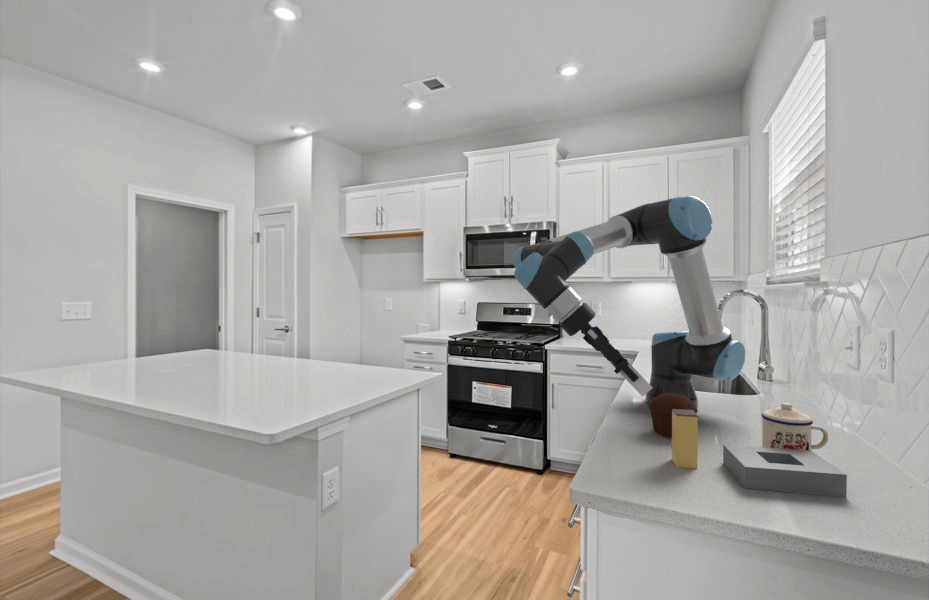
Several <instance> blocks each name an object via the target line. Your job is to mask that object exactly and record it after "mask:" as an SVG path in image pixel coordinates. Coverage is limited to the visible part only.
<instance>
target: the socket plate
mask: <svg viewBox="0 0 929 600" xmlns="http://www.w3.org/2000/svg"><path fill="white" fill-rule="evenodd" d="M722 446H723V449H722V451H723V452H722V455H723V456H722V464H723V465H724V466H725V467H726V469H728V471H729V472H730V473H731V474H732V476H734V478H736V480H737V481H738V482H739V484H740V485H741V486H742V487H743V488H744V489H748V490H749V489H750V490H762V491H771V492H773V491H774V492H783V493H795V494H805V495H806V494H807V495H817V496H826V497H827V496H830V497H839V498H840V497H841V498H847V492H848V491H847V484H848V483H847V479H848V477H847V476H848V474H847V473H845V472H843V471H842V470H841V469H840V468H838V467H836V466H835V465H833V464H831V462H829V461H827V460H826V459H824V458H823V457H821V456H820V455H818V454H817V453H815V452H814V451H812V450H811V451H810V450H795V449H780V448H766V447H762V446H749V445H733V444H723V445H722Z"/></svg>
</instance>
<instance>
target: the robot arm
mask: <svg viewBox="0 0 929 600" xmlns="http://www.w3.org/2000/svg"><path fill="white" fill-rule="evenodd" d="M712 225H713V217H712V213H711V211H710V209H709V206H708V204H706V202H704V201H703V200H702V199H700V198H699V197H696V196H695V195H694V196H693V195H690V196H688V195H687V196H677V197H673V198H669V199H664V200H660V201H655V202H652V203H645V204H642V205H639V206H637V207H634V208H630V209H629V210H626V211H624V212H621V213H619V214H616V215H613V216H611V217H610V218H608V220H607V221H606V222H602V223H600V224H595V225H593V226H589V227H586V228H583V229H580V230H576V231H572V232H569V233H566V234H563V235H560V236H556V237H554V238H550V239H547V240H544V241H541V242H538V243H534V244H526V245H524V246H520V247H518V248H516V250H515V252H514V253H513V256H512V263H513V266H514V269H515V270H514V271H513V275H514V278H515V279H516V280H517V282H518V283H519V284H520V286H522V287H523V289H524V290H525V291H526V292H528V294H530V295H531V297H532V298H533V299H534V300H535V301H536V302H537V303H538V304H539V305H540V306H541V307H542V308H543V309H544V310H545V311H546V312H547V313H546V317H547V318H551V316H552V319H553V320H554V321H555V322H556V323H559V322H560V323H559V324H560V328H561V329H562V330H563V331H564V332H565V333H566V334H567V335H568V336H570V337H573V336H575V335H576V334H578V332H580V333H581V334H583V337H582V339H583V340H584V341H586V343H587V344H588V345H590V346H591V347H592V348H593V349H594V350H595V351H596V352H600V353H601V354H602V356H603V357H604V358H605V359H606V360H607V361H608V362H609V363H610V365H611V366H612V367H614V369H613V372H614V373H615V374H616V375H617V374H620V375H621V377H623V379H625V380H626V381H627V382H628V383H629V384H630V385H631V386H632V388H633V389H634V390H636V392H638V394H639V395H640V396H641V397H644V396H645V403H646V404H648V403H650V402H651V401H652V399H653V398H655V397H656V396H658V395H660V394H663V393H678V394H682V395H684V396H686V397H688V398H689V399H690V400H692V402H693V403H694V405H695V406H696V408H697V409H698V406H699V400H698V399H699V398H698V396H697V392H696V390H695V387H694V383H693V379H692V377H693V376H696V377H697V376H698V377H703V378H709V379H714V380H716V381H718V380H721V381H732V380H734V379H736V378H737V377H738V375H740V373H741V372H742V370H743V367H744V365H745V361H746V348H745V345H744V344H743V343H742V342H741V341H740V340H736V339H733V337H732V334H731V331H730V329H729V328H728V327H726V326H724V325H723V323H722V318H721V316H720V312H719V307H718V304H717V300H716V297H715V292H714V288H713V285H712V282H711V277H710V276H711V275H710V273H709V270H708V266H707V261H706V258H705V253H704V249H703V248H704V246H705V245H706V243H707V241H708V240H707V237H709V235H710V234H711V231H712V228H713V227H712ZM642 245H643V246H645V245H647V246H648V245H658V246H659V250H660V254H662V255H664V256H666V257H667V258H668V260H669V264H670V266H671V271H672V274H673V278H674V281H675V286H676V289H677V291H678V295H679V299H680V303H681V307H682V310H683V313H684V319H685V321H686V325H687V328H688V330H685V331H684V330H682V331H666V332H665V331H664V332H655V333H654V334H653V335H652V336H651V345H650V348H651V379H650V381H647V380H646V379H645V377H643V376H642V374H641V373H640V372H639V371H638V370H637V369H636V368H635V367H634V366H632V364H631V363H630V362H629V361H628V359H627V358H625V357H624V356H623V355H622V354H621V352H620V351H619V350H618V349H617V348H615V347H614V345H612V344H611V343H610V340H609V338H608V337H607V336H606V335H605V334H604V332H603V331H602V329H601V328H599V327H598V326H597V325H595V326H592V325H591V324H590V322H591V321H592V320H593V319H594V318H595V316H596V312H595V310H593V308H591V307H590V306H589V304H588V303H587V302H583V298H582V297H581V296H580V295H579V294H578V293H577V291H575V290H574V289H573V288H572V286H570V285H569V284H568V283H567V280H568V279H570V277H571V276H573V274H575V273H576V272H577V271H578V270H579V269H580V268H582V267H583V266H585V265H586V264H587V262H588V261H589V260H590V259H592V257H593V255H596V254H598V253H599V254H600V253H601V252H604V251H607V250H610V249H614V248H617V249H624V248H627V247H633V246H642Z"/></svg>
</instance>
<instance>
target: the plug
mask: <svg viewBox="0 0 929 600" xmlns="http://www.w3.org/2000/svg"><path fill="white" fill-rule="evenodd" d="M698 417H699V416H698V413H695V412H694V411H693V410H683V409H672V438H671V461H672V463H673V464H674V466H675V468H687V469H688V468H689V469H698V433H699V432H698V431H699V430H698V428H699V427H698V425H699V424H698V422H699V419H698Z"/></svg>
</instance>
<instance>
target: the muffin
mask: <svg viewBox="0 0 929 600" xmlns="http://www.w3.org/2000/svg"><path fill="white" fill-rule="evenodd" d="M647 404H648V403H647ZM647 407H648V409H649V410H650V416H651V423H652V429H654V430H653V432H654V434H655V433H656V434H655V435H658V434H659V435H658V436H660V435H661V436H660V437H662V438H667V439H668V438H669V439H672V409H683V410H693V411H694V412H695V413H696V414H698V412H699V410H698V407H697V408H696V406H695V405H694V403H693V402H692V400H690V399H689V398H688V397H686V396H684V395H682V394H678V393H663V394H660V395H658V396H656V397H655V398H653V399H652V401H651V402H650V403H649V404H648V405H647Z"/></svg>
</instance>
